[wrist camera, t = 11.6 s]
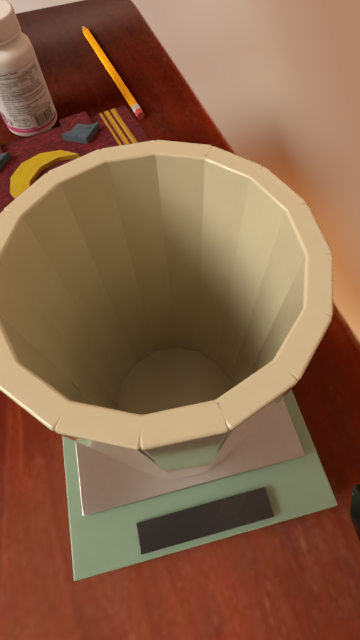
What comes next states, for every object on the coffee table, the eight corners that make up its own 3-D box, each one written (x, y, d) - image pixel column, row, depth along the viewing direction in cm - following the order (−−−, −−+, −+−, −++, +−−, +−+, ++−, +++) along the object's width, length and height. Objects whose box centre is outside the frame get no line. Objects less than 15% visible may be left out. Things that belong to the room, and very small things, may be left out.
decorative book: (-38, 213, 27) (-83, 158, 23) (145, 148, 30) (137, 88, 26) (-8, 326, 23) (-57, 285, 18) (207, 236, 25) (210, 181, 21)
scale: (322, 504, 17) (344, 505, 15) (87, 571, 16) (68, 585, 14) (245, 304, 23) (252, 281, 20) (65, 346, 22) (49, 327, 19)
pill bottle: (7, 112, 33) (-47, 0, 26) (56, 103, 34) (16, -9, 26) (8, 142, 31) (-51, 31, 24) (60, 133, 31) (19, 20, 24)
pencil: (137, 120, 32) (136, 113, 32) (79, 30, 40) (78, 23, 40) (145, 118, 32) (144, 111, 32) (86, 28, 40) (84, 21, 40)
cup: (234, 492, 15) (335, 492, 4) (93, 461, 16) (-110, 397, 5) (250, 355, 18) (333, 156, 7) (130, 335, 19) (48, 127, 8)
